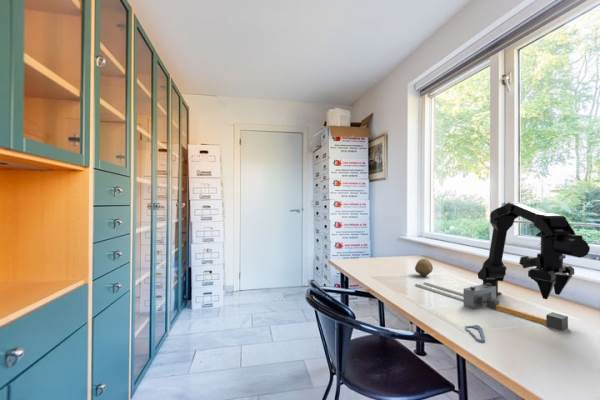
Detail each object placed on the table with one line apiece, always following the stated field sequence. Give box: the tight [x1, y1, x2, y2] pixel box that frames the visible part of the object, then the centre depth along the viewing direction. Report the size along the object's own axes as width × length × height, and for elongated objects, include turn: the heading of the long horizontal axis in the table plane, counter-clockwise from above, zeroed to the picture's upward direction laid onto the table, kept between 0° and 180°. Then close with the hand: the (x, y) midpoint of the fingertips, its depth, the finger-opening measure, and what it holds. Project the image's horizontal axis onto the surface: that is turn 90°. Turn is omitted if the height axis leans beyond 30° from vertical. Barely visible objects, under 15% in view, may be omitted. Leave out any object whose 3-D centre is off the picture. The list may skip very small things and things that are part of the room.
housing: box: [414, 281, 497, 310], centre depth 126 cm, size 16×32×8 cm, turn 28°
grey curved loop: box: [464, 324, 486, 343], centre depth 88 cm, size 12×1×5 cm
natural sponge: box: [414, 258, 434, 277], centre depth 157 cm, size 9×9×10 cm
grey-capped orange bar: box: [486, 298, 569, 332], centre depth 101 cm, size 24×4×4 cm, turn 28°
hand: (551, 296), depth 95 cm, fingers open, 9 cm apart
